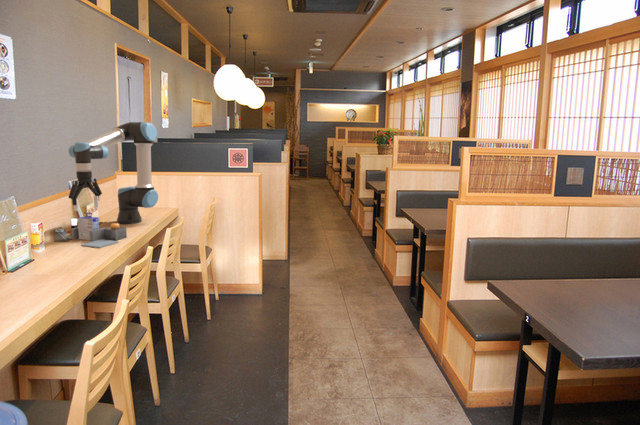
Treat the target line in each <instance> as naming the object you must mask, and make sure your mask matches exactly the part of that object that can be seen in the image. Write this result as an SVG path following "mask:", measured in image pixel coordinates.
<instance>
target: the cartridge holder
mask: <svg viewBox="0 0 640 425" xmlns="http://www.w3.org/2000/svg"><path fill="white" fill-rule="evenodd" d="M106 228H107V227H106V226H105V227H99V229H96V230H92V231H90V240H89V241H90V242H93V241H96V240H100V239H103V240H106V239H105V234H104V229H106ZM70 234H71V240H75V241H76V240H80V239H79V231H78V226H77V227H74V228H73V227H72V228H70Z"/></svg>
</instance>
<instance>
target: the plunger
mask: <svg viewBox="0 0 640 425" xmlns="http://www.w3.org/2000/svg"><path fill="white" fill-rule="evenodd" d="M110 227H111V228H113V229H117V228H119V227H120V224H119V223H117V222H114V223H113V222H112V223H111V224H110Z"/></svg>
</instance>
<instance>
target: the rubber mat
mask: <svg viewBox="0 0 640 425" xmlns="http://www.w3.org/2000/svg"><path fill="white" fill-rule="evenodd" d="M119 242H120V240H117V241H114V240H106V239H100V240H96V241H93V242H91V241H90V242H87V243H86V242H85V243H82V244H80V246H81V247H86V248H87V247H89V248H94V249H95V248H97V249H101V248H105V247H108V246H112V245H115V244H119Z"/></svg>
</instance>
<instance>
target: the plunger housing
mask: <svg viewBox="0 0 640 425" xmlns="http://www.w3.org/2000/svg"><path fill="white" fill-rule="evenodd" d="M105 228H106V229H104V234H105V239H104V240H111V241H120V240H124V239H127V238H128V237H127V236H128V235H127V227H126V226H119V228H117V229H113V228H111V226H110V227H105Z"/></svg>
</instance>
